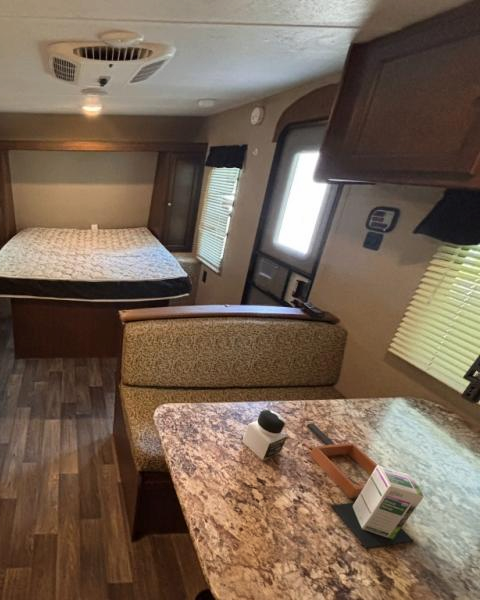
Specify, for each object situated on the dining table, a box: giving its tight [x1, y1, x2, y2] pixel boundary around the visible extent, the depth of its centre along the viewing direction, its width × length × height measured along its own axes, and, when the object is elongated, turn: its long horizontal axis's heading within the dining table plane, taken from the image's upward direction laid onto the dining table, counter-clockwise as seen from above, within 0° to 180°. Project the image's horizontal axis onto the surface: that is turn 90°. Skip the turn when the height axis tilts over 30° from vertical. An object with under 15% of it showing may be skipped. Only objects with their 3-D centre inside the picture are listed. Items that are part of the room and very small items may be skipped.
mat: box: [330, 502, 414, 549], centre depth 72 cm, size 12×9×1 cm
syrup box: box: [353, 464, 424, 539], centre depth 69 cm, size 6×6×14 cm
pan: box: [306, 422, 378, 499], centre depth 87 cm, size 13×21×4 cm, turn 8°
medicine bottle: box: [242, 409, 288, 462], centre depth 88 cm, size 7×7×12 cm
